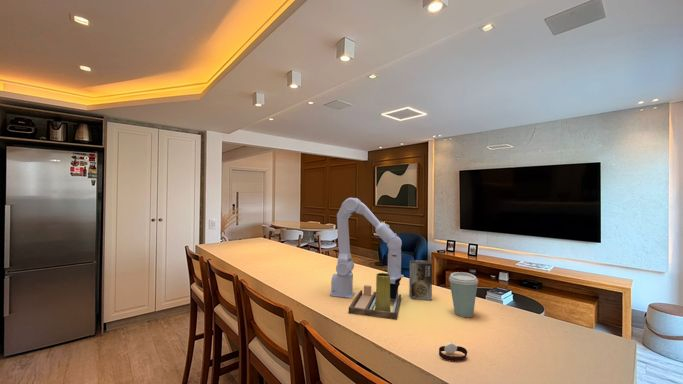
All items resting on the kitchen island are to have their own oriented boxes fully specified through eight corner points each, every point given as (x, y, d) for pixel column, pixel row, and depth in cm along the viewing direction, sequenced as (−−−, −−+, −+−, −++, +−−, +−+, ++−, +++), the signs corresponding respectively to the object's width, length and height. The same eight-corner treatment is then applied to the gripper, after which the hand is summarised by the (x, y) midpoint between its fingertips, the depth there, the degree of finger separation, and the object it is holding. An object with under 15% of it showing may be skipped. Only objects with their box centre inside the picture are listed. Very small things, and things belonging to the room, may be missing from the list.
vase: (372, 312, 108) (373, 275, 109) (377, 307, 114) (378, 271, 114) (387, 316, 106) (388, 277, 106) (392, 310, 111) (393, 273, 111)
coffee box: (428, 295, 130) (429, 260, 130) (432, 300, 123) (432, 263, 124) (408, 294, 131) (409, 259, 131) (410, 299, 124) (411, 262, 125)
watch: (462, 353, 81) (462, 340, 81) (470, 363, 76) (470, 349, 76) (436, 353, 81) (436, 340, 81) (442, 362, 76) (442, 349, 76)
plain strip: (352, 311, 108) (352, 299, 108) (362, 295, 127) (362, 284, 127) (364, 313, 107) (364, 300, 107) (372, 296, 126) (373, 285, 126)
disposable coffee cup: (481, 321, 103) (482, 279, 103) (450, 318, 105) (451, 277, 106) (474, 310, 113) (474, 272, 114) (446, 307, 116) (446, 270, 116)
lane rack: (348, 313, 107) (348, 307, 107) (360, 295, 128) (360, 290, 128) (396, 319, 102) (396, 313, 102) (401, 299, 123) (401, 294, 124)
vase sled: (368, 314, 106) (368, 298, 107) (376, 297, 126) (376, 283, 126) (393, 317, 104) (394, 301, 104) (398, 299, 123) (398, 286, 123)
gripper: (402, 269, 115) (402, 302, 115) (404, 261, 129) (404, 292, 129) (385, 267, 117) (384, 300, 117) (389, 260, 131) (388, 290, 130)
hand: (393, 296), depth 123 cm, fingers open, 6 cm apart
